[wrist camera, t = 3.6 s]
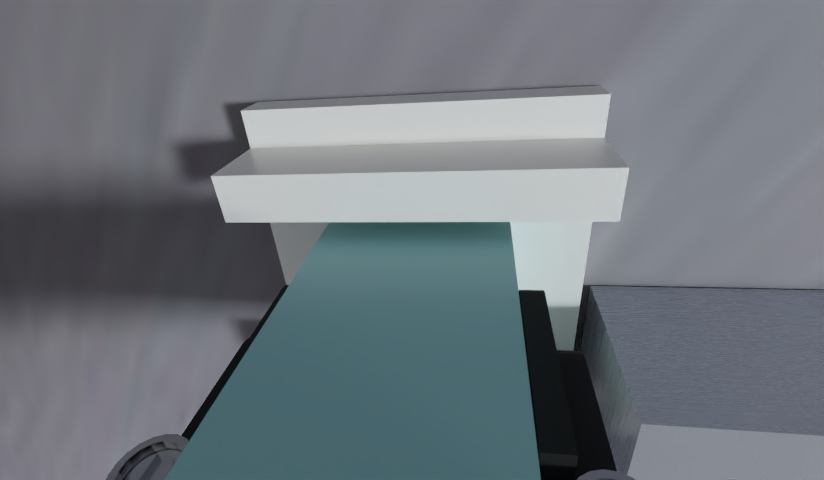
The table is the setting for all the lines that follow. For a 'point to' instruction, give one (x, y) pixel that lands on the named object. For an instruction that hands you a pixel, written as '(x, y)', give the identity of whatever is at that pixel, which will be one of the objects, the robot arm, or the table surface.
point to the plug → (382, 366)
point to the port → (709, 381)
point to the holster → (438, 175)
